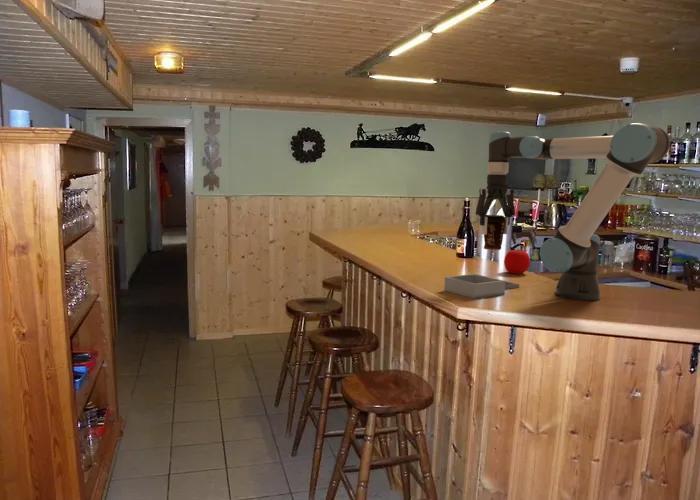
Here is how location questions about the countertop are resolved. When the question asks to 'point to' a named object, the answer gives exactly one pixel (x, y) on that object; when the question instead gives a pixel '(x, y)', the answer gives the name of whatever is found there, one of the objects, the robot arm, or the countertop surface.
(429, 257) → the countertop surface
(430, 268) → the countertop surface
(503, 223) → the coffee cup
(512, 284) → the collar
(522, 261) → the tomato
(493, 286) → the bin
